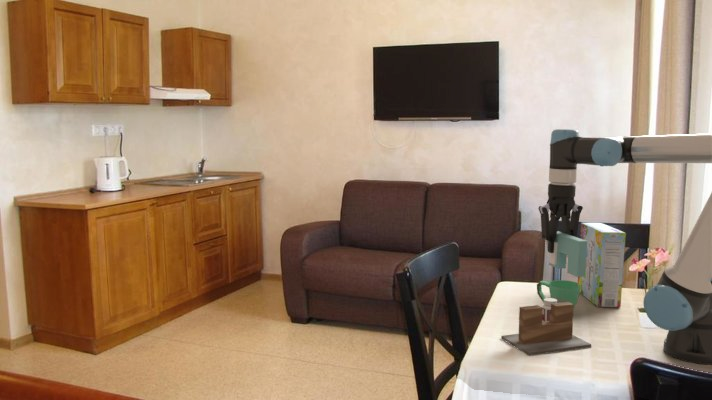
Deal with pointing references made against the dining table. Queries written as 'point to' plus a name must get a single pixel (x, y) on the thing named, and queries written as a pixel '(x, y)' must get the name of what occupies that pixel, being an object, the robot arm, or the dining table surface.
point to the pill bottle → (547, 308)
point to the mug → (560, 290)
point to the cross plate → (571, 254)
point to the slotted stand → (546, 330)
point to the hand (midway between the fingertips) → (557, 263)
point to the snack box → (603, 264)
